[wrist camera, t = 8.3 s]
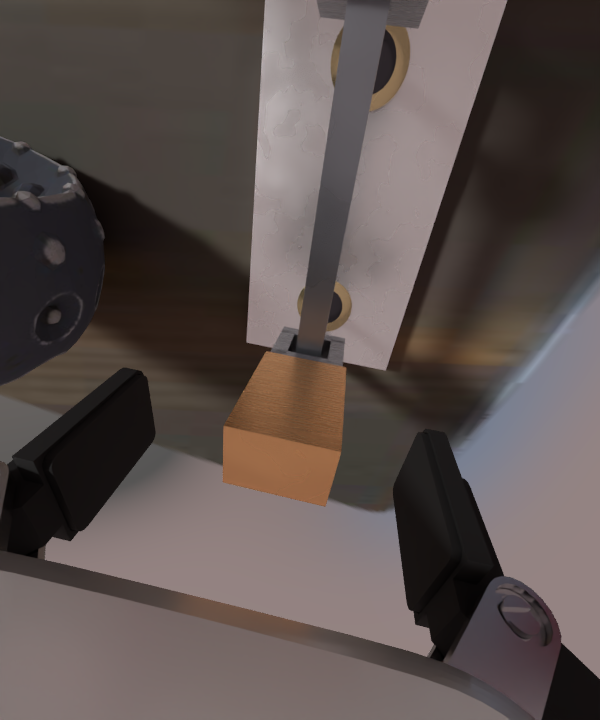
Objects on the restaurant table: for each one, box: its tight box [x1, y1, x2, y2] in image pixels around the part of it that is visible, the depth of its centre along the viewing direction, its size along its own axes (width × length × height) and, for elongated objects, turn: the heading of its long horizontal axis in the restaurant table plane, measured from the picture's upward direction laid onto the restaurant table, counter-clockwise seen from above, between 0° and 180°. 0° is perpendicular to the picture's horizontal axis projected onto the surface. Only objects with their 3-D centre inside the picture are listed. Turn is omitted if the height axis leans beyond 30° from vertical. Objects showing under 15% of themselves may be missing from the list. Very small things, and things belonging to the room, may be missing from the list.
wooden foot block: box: [223, 326, 346, 506], centre depth 16 cm, size 3×4×15 cm
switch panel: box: [246, 0, 507, 371], centre depth 16 cm, size 23×12×12 cm, turn 172°
